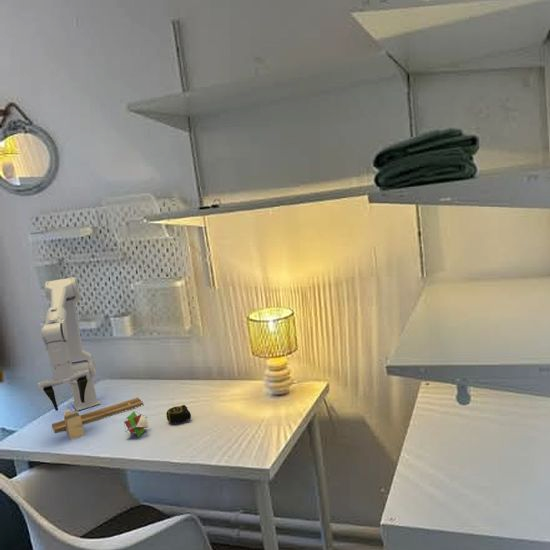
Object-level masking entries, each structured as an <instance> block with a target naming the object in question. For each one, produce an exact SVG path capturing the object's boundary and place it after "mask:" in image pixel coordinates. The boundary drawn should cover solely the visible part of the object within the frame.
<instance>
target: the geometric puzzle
mask: <svg viewBox="0 0 550 550" xmlns="http://www.w3.org/2000/svg"><path fill="white" fill-rule="evenodd" d="M148 422H149V421H148V419H147V416H144V414H142V413H140V412H138V414H136V411H135V410H134V411H133V412H132V413H130V414H129V416H126V418H125V420H124V422H123V423H124V426H125V427H126V428H127V429H126V428H124V432H125V433H127V432H128V431H129V434H130V435H133V436H135V437H136V438H139V437H140V436H141V435H143V433H145V432H146V430H147V429H148V427H149V423H148ZM135 434H136V435H135Z"/></svg>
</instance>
